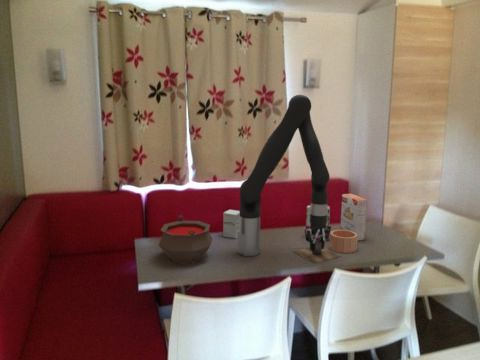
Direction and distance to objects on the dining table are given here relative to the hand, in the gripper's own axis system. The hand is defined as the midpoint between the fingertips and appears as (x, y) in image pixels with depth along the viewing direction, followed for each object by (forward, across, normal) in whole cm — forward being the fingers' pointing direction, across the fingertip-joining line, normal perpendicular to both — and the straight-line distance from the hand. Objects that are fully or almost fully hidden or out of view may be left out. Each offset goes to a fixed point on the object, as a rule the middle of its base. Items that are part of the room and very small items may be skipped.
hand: (317, 249), depth 187 cm
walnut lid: (+3, 0, 0) cm, 3 cm away
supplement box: (+3, -20, +41) cm, 46 cm away
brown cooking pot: (+3, -52, +26) cm, 58 cm away
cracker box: (+3, +32, +10) cm, 34 cm away
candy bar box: (+3, +15, +17) cm, 23 cm away
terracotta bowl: (+2, +16, 0) cm, 16 cm away
